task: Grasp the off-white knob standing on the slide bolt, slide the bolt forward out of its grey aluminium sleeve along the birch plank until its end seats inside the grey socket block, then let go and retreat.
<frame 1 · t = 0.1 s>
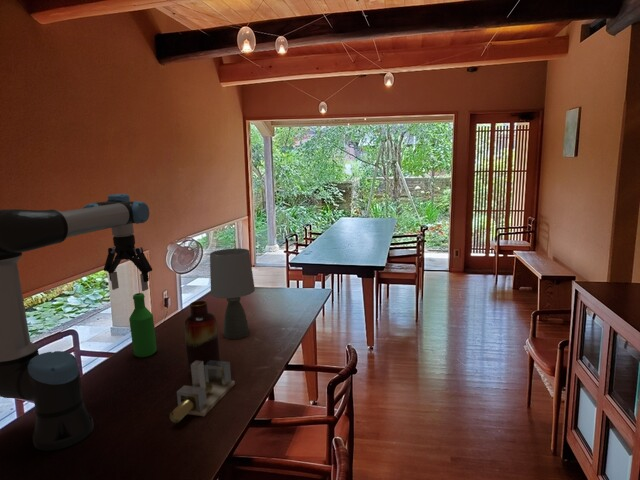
hand: (130, 289, 175), 28 cm above the table, fingers open, 13 cm apart
lamp: (236, 335, 199), on the table
socket: (218, 385, 154), resting on plank
sleeve: (193, 410, 139), resting on plank
bottle: (145, 354, 183), on the table
vase: (205, 372, 165), on the table
slide bolt: (190, 388, 138), point 8 cm above the table, slide at 0.0 cm
plank: (206, 397, 147), on the table
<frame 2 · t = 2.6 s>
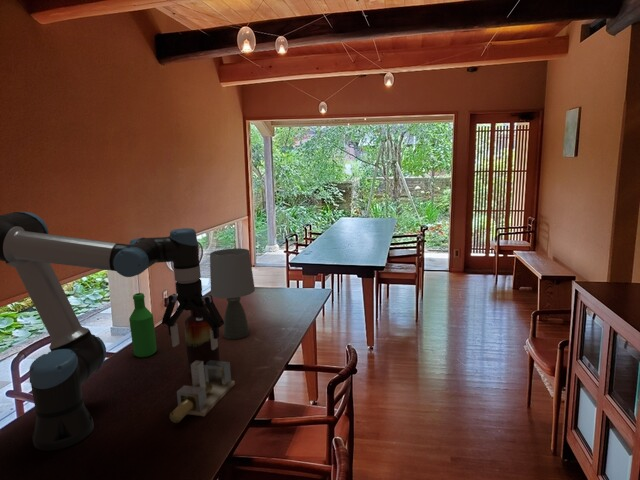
hand: (195, 346, 140), 19 cm above the table, fingers open, 13 cm apart
nothing on the table moved.
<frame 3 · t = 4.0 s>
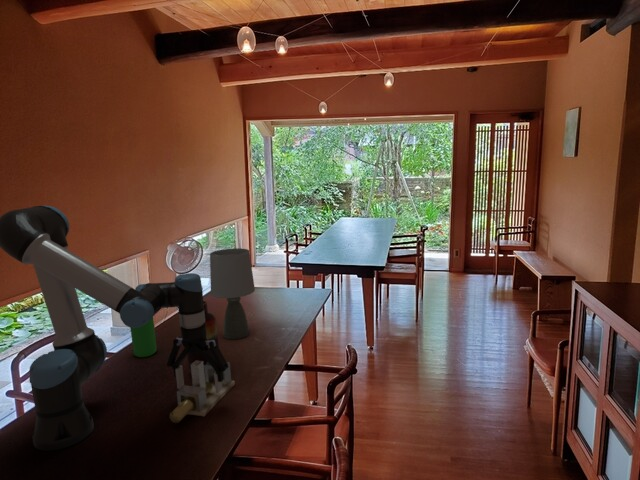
hand: (199, 388, 142), 5 cm above the table, fingers open, 13 cm apart
nothing on the table moved.
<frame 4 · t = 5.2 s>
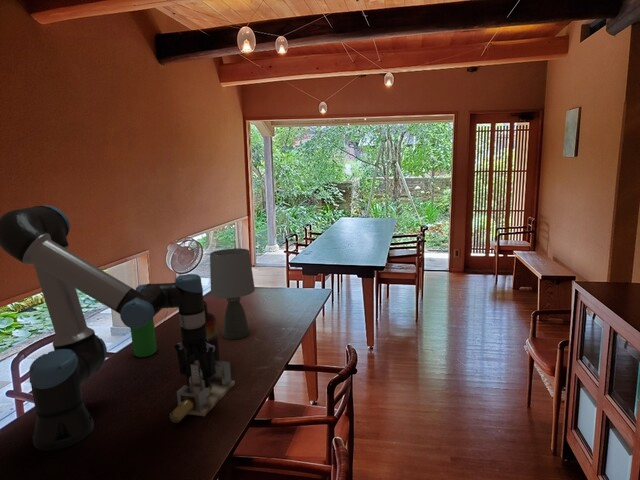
hand: (200, 395, 143), 3 cm above the table, fingers closed on slide bolt, 4 cm apart
slide bolt: (190, 388, 138), point 8 cm above the table, slide at 0.0 cm, touching gripper
everything else where it was.
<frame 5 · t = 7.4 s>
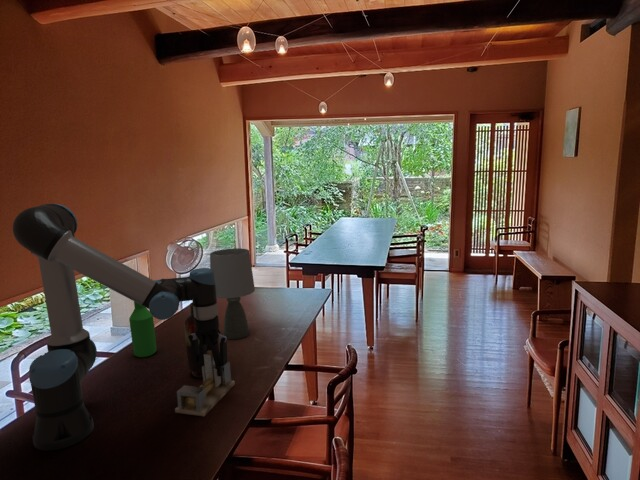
hand: (212, 383, 150), 3 cm above the table, fingers closed on slide bolt, 4 cm apart
slide bolt: (203, 376, 145), point 8 cm above the table, slide at 7.6 cm, touching gripper
everything else where it was.
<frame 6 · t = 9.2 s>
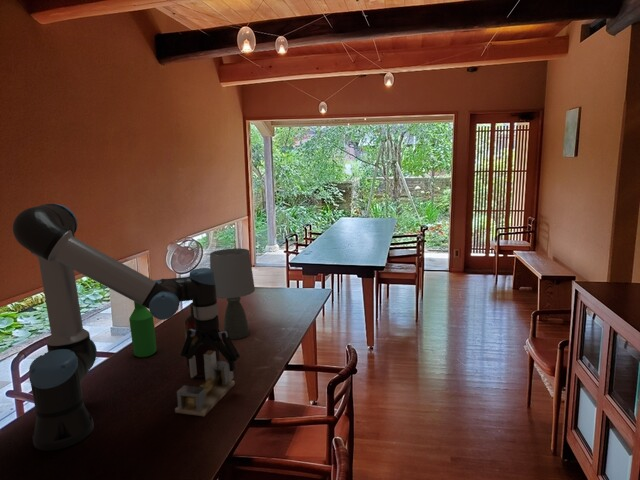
hand: (212, 377, 150), 5 cm above the table, fingers open, 13 cm apart
slide bolt: (203, 376, 145), point 8 cm above the table, slide at 7.6 cm
everything else where it was.
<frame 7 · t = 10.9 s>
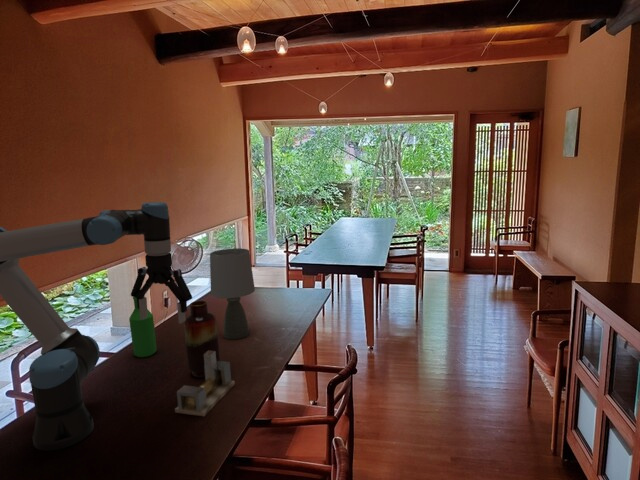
hand: (162, 320, 142), 27 cm above the table, fingers open, 13 cm apart
nothing on the table moved.
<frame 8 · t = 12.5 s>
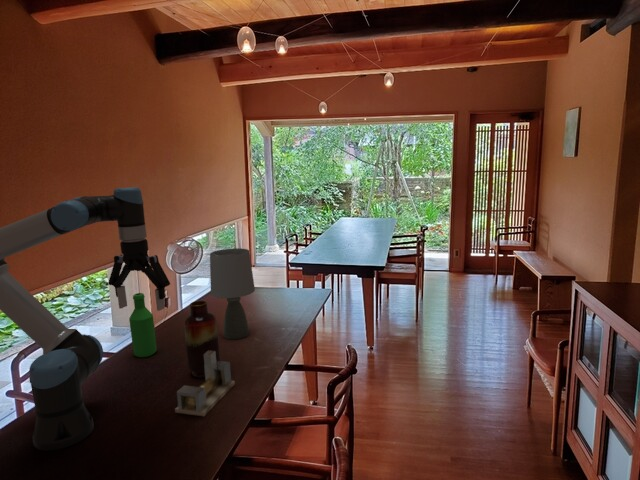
hand: (141, 308, 139), 32 cm above the table, fingers open, 13 cm apart
nothing on the table moved.
at the end: slide bolt slide at 7.6 cm; the gripper is holding nothing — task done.
